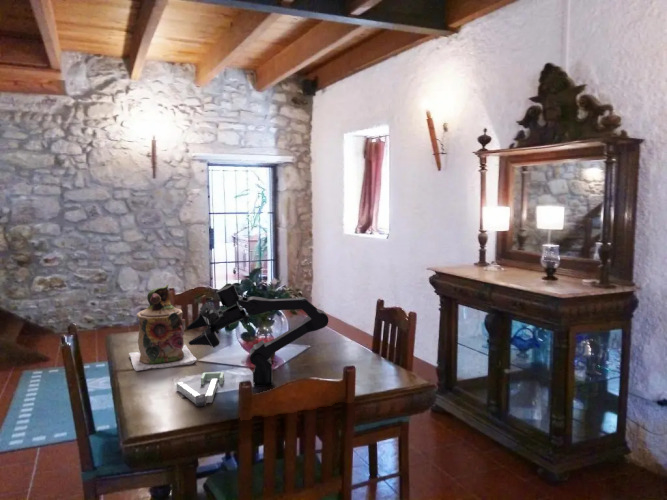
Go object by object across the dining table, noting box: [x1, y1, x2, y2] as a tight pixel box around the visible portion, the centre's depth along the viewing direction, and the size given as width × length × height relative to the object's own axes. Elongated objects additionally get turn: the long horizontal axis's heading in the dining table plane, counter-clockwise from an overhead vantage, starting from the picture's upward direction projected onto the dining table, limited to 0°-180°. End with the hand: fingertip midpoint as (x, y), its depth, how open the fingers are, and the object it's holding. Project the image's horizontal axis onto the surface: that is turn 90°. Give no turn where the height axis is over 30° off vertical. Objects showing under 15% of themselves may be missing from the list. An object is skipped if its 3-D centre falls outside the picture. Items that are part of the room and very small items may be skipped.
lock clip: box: [200, 371, 225, 386], centre depth 197 cm, size 8×6×2 cm
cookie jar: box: [128, 283, 198, 372], centre depth 222 cm, size 25×25×32 cm
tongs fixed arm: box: [205, 379, 219, 404], centre depth 185 cm, size 2×16×2 cm, turn 6°
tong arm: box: [176, 381, 206, 407], centre depth 182 cm, size 3×20×3 cm, turn 38°
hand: (187, 336), depth 190 cm, fingers open, 9 cm apart
